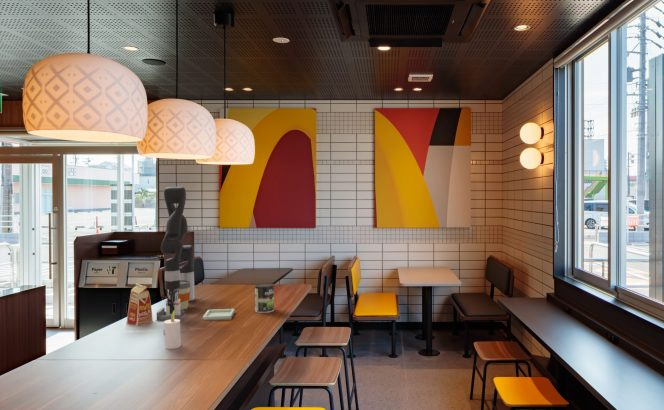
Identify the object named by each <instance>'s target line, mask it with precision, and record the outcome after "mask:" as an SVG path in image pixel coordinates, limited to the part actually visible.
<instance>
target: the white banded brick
mask: <svg viewBox="0 0 664 410" xmlns="http://www.w3.org/2000/svg"><path fill="white" fill-rule="evenodd" d="M173 300H174V299H173ZM171 303H172V302H171ZM165 311H166V315H172V314H170V306H168V302H167V300H166V301H165ZM174 311H175V315H180V311H181V310H180V299H176V301H175V303H174Z"/></svg>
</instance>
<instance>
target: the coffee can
mask: <svg viewBox="0 0 664 410" xmlns="http://www.w3.org/2000/svg"><path fill="white" fill-rule="evenodd" d="M274 290H275V284H273V283H268V282H267V283H266V282H265V283H263V282H262V283H257V284H254V301H255V302H254V305H255V308H254V309H255V313H258V314H270V313H272V312H274V311H275V298H274V297H275V295H274V294H275V291H274Z"/></svg>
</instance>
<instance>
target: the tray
mask: <svg viewBox="0 0 664 410" xmlns="http://www.w3.org/2000/svg"><path fill="white" fill-rule="evenodd" d="M234 314H235V308H224V309H223V308H220V309H217V308H216V309H215V308H214V309H207V310H206V312H205V313H204V314H203V315H202V321H206V320H207V321H208V320H209V321H210V322H211V321H212V322H213V321H214V322H215V321H231V320H232V319H233V316H234Z"/></svg>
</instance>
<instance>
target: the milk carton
mask: <svg viewBox="0 0 664 410" xmlns="http://www.w3.org/2000/svg"><path fill="white" fill-rule="evenodd" d="M147 288H148V287H147V286H145V285H141V284H140V283H137V282H136V283H135V286H133V288H131V290H130V294H129V295H130V296H129V303H128V310H127V317H126V323H125V324H126V325H130V326H131V325H132V326H135V327H137V326H142V325H146V324H148V323H151V322H153V311H152V303H151V295H150V292H149V290H148V289H147Z"/></svg>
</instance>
